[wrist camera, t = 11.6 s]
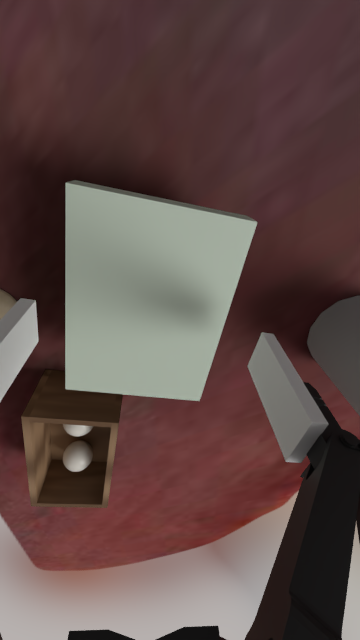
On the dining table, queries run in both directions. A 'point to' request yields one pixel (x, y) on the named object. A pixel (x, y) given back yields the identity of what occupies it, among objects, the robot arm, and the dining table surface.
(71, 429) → the ball
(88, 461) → the ball
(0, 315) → the candle
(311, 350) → the cup
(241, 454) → the dining table surface
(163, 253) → the lid
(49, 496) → the walnut box
